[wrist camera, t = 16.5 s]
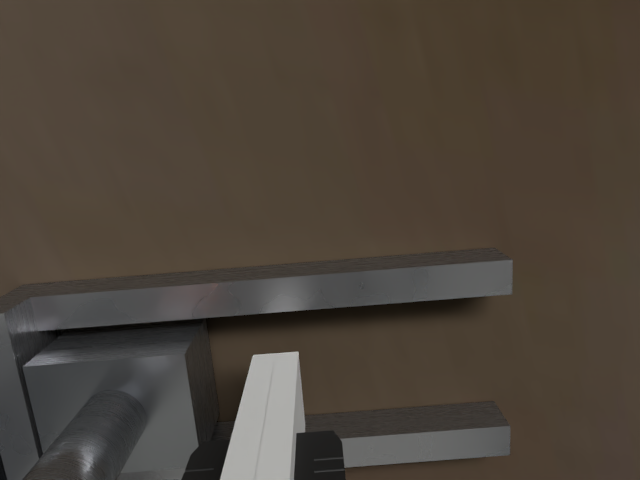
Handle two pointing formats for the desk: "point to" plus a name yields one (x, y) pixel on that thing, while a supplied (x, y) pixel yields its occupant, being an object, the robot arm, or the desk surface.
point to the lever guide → (257, 298)
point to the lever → (122, 399)
